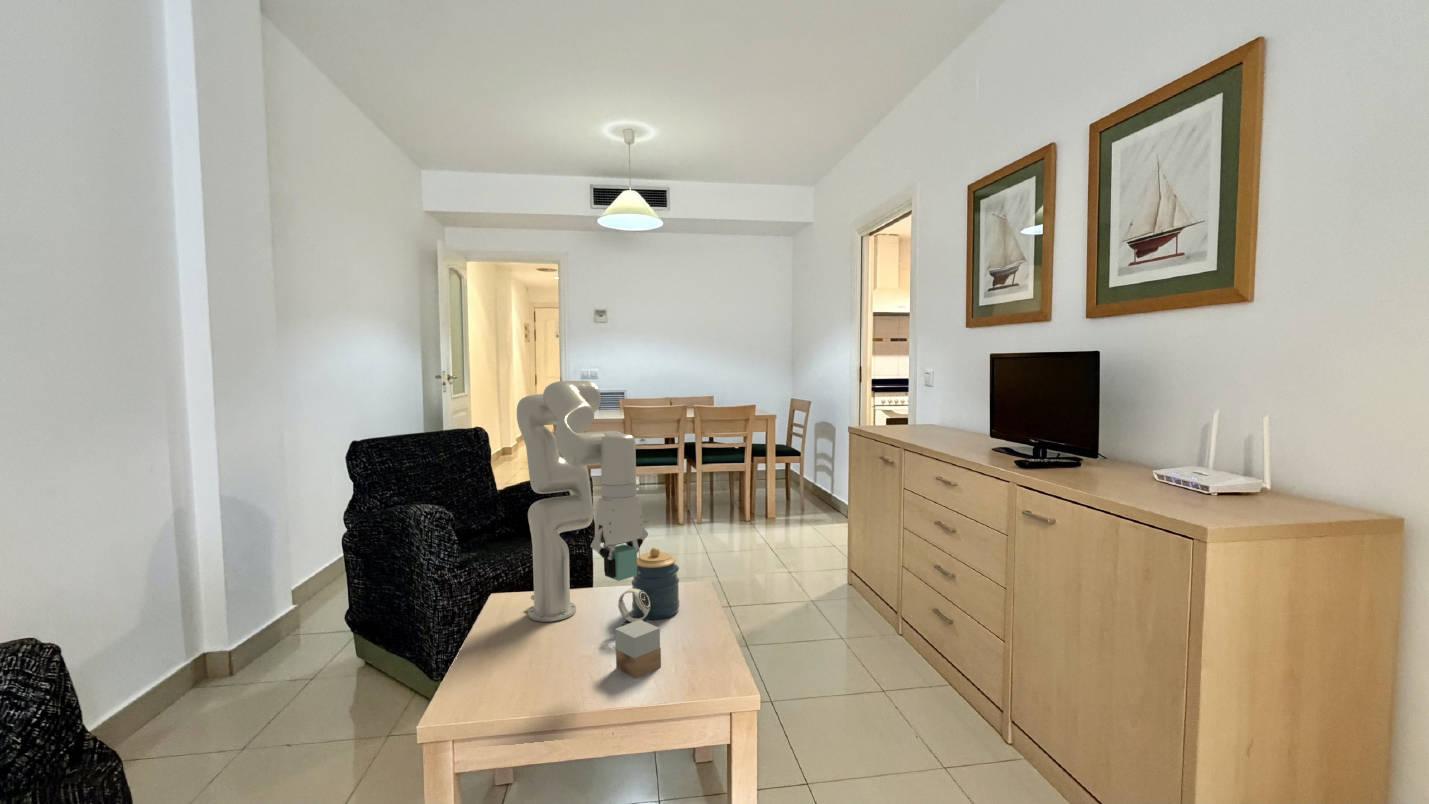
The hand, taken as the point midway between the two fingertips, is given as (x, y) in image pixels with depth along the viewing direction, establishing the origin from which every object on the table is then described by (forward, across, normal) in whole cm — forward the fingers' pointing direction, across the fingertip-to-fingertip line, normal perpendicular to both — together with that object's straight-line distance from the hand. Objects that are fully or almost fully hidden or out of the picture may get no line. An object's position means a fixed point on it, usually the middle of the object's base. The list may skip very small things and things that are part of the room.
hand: (621, 572), depth 135 cm
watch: (+22, -14, -13) cm, 29 cm away
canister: (+22, -26, -21) cm, 40 cm away
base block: (+22, -3, +2) cm, 22 cm away
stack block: (+1, 0, 0) cm, 1 cm away
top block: (+17, -3, +2) cm, 18 cm away
